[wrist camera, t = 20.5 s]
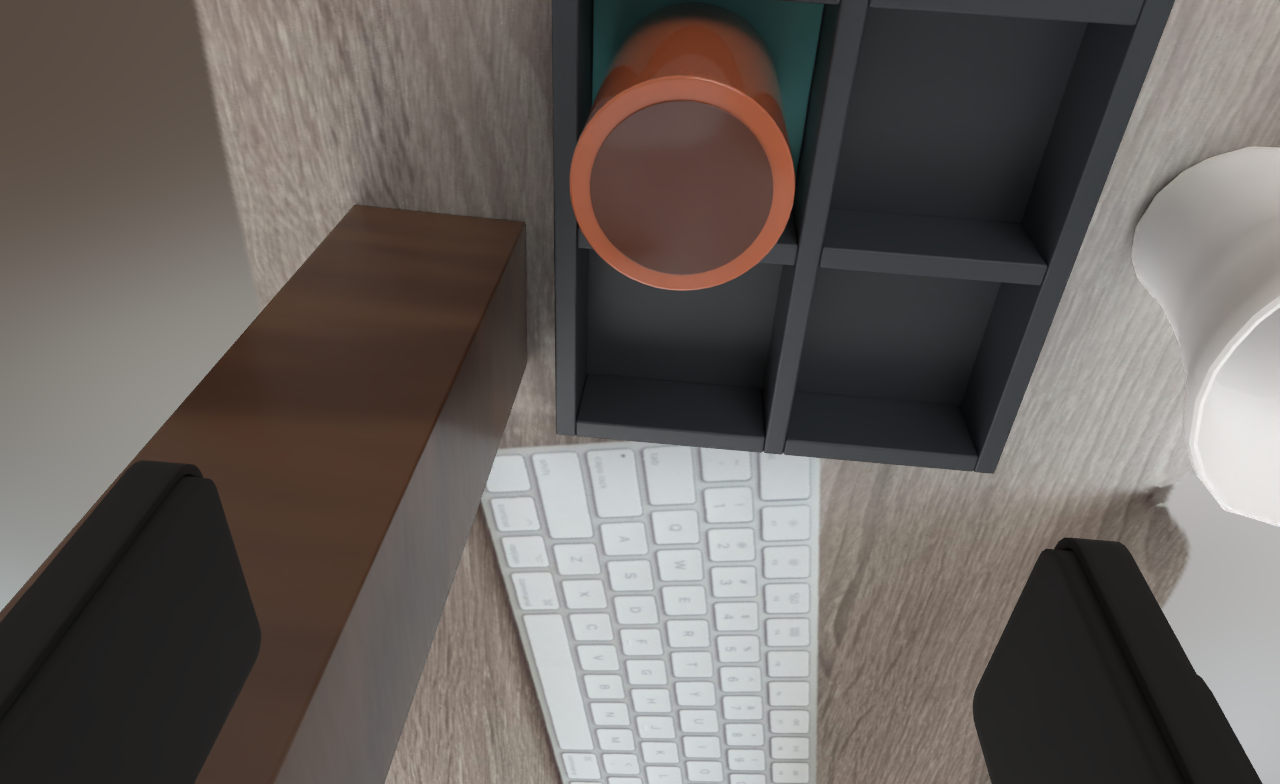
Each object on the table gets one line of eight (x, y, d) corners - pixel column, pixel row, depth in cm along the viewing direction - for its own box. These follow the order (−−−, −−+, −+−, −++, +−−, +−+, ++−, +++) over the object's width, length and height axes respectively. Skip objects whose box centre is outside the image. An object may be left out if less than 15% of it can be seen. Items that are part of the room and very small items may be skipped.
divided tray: (570, 377, 33) (556, 435, 30) (571, -67, 24) (550, -45, 21) (970, 412, 33) (994, 474, 30) (1121, -30, 24) (1177, -3, 21)
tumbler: (571, 63, 26) (523, 154, 20) (725, -37, 24) (725, 28, 18) (662, 205, 28) (644, 325, 22) (808, 124, 26) (834, 231, 20)
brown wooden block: (353, 203, 30) (-352, 1011, 10) (525, 221, 30) (141, 1073, 10) (373, 349, 33) (-126, 1156, 14) (526, 365, 33) (242, 1204, 14)
